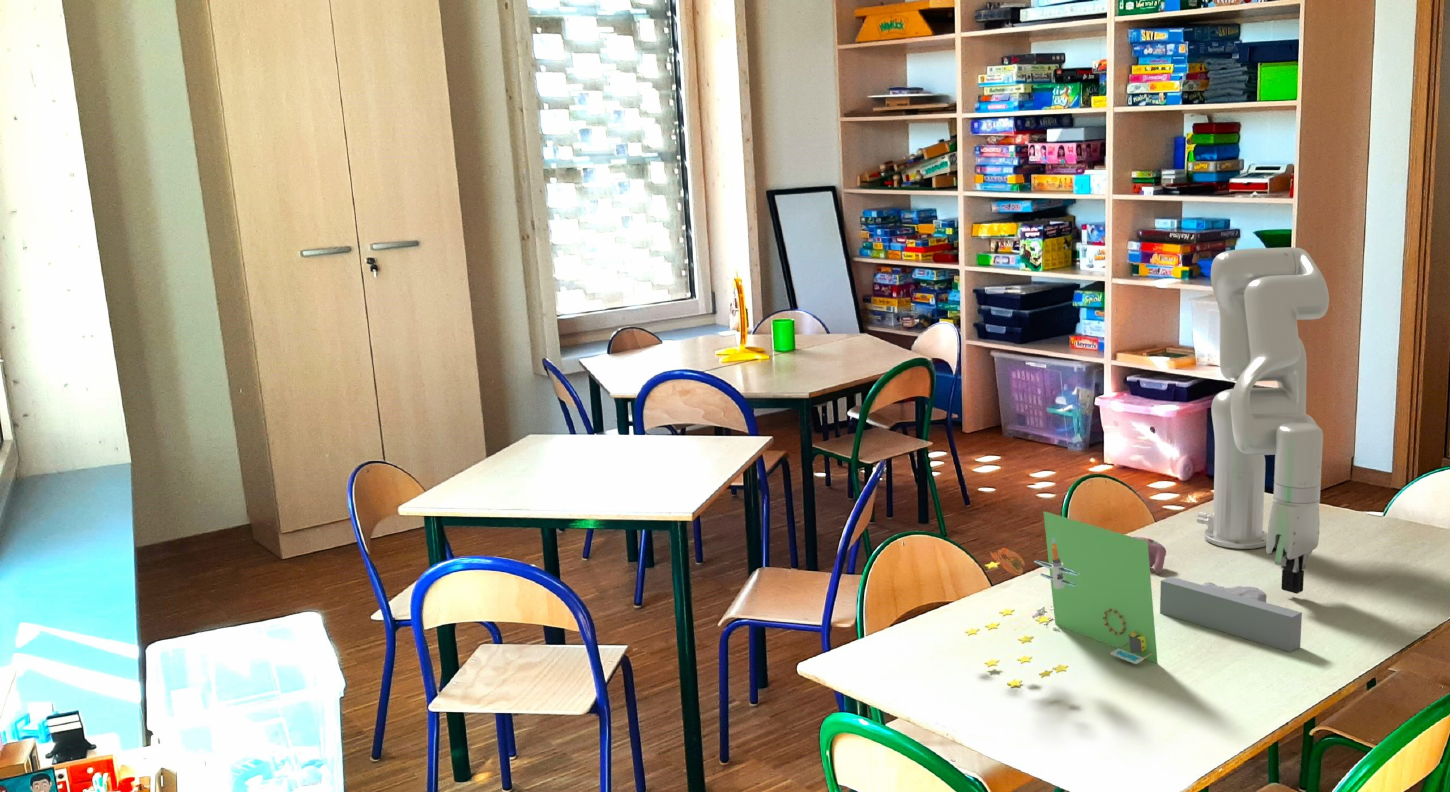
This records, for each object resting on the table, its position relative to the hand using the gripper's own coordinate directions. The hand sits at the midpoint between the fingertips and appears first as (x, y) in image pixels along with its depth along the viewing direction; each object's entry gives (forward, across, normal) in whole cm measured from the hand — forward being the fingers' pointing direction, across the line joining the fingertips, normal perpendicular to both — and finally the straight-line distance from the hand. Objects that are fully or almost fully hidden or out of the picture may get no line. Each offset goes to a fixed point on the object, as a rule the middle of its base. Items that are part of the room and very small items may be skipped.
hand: (1292, 590), depth 226 cm
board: (+1, +21, 0) cm, 21 cm away
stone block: (+2, +14, -4) cm, 15 cm away
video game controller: (+2, +6, -28) cm, 29 cm away
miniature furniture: (+2, +30, -24) cm, 39 cm away
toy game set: (+2, +53, -11) cm, 54 cm away
